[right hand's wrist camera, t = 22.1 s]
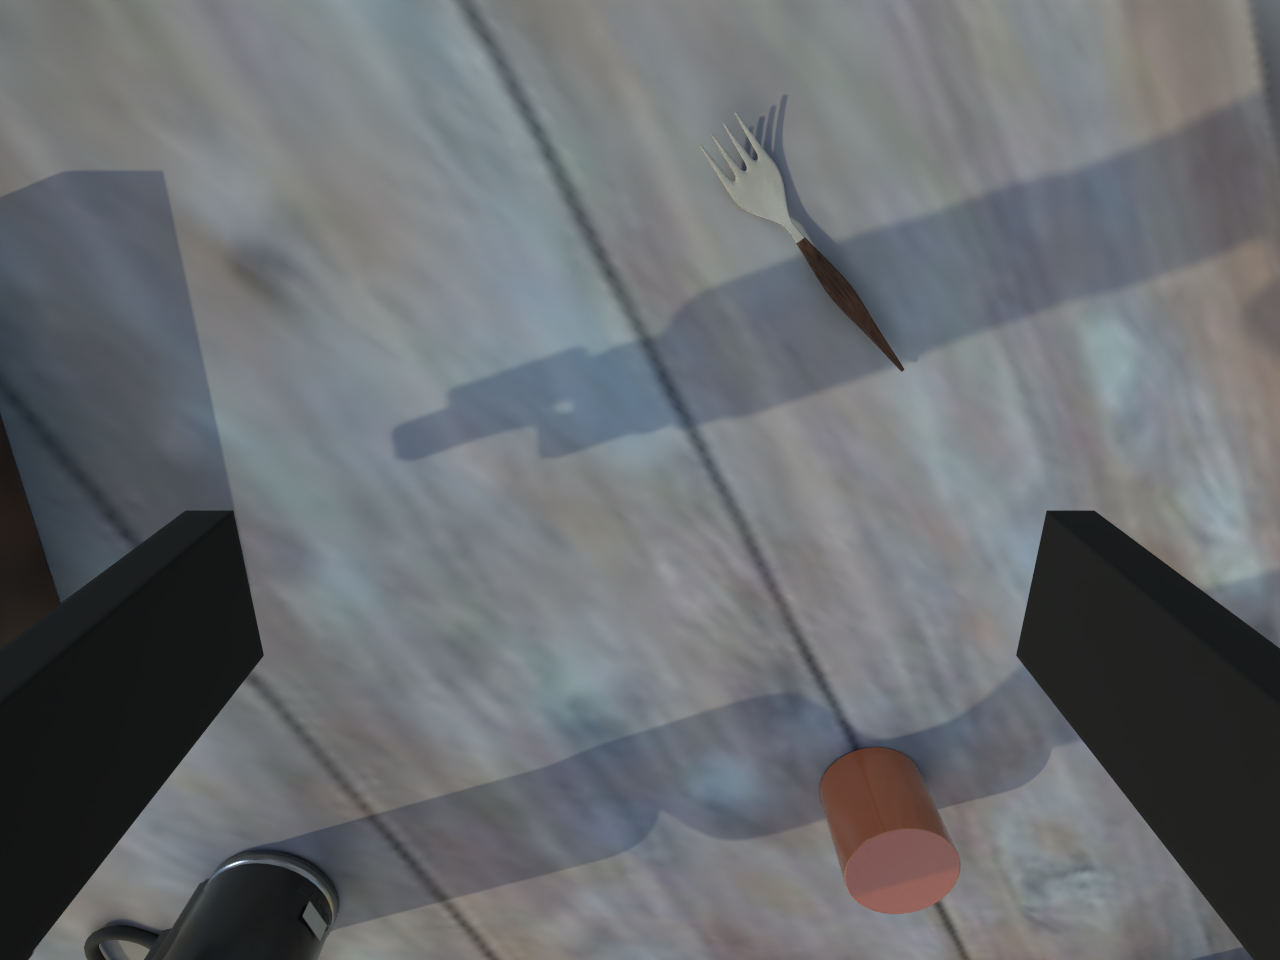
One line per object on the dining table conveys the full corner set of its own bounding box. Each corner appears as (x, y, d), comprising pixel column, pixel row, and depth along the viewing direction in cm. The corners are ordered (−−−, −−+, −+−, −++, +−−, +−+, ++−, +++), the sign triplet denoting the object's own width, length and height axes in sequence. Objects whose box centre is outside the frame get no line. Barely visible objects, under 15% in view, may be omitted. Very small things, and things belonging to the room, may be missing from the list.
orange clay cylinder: (865, 730, 52) (898, 810, 45) (942, 777, 53) (985, 861, 47) (798, 797, 54) (820, 883, 47) (874, 841, 55) (906, 930, 49)
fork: (880, 384, 43) (891, 393, 41) (693, 150, 38) (696, 148, 37) (919, 353, 42) (932, 361, 40) (734, 111, 38) (739, 108, 36)
